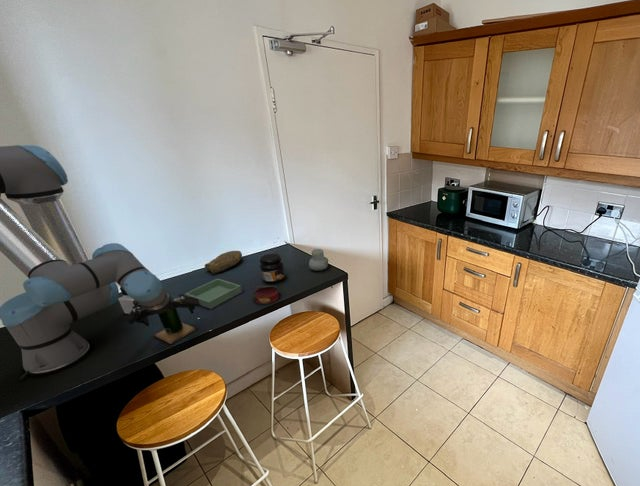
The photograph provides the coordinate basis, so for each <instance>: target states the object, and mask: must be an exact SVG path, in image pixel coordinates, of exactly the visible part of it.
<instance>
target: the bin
mask: <svg viewBox="0 0 640 486" xmlns="http://www.w3.org/2000/svg"><path fill="white" fill-rule="evenodd" d="M241 293H243V289H242V285H240V284H237V283H234V282H230V281H227V280H225V279H221V278H215V279H213V280H211V281H209V282H207V283H205V284H203V285H200V286H198V287H196V288H194V289H192V290H190V291H188V292H185V293H184V296H188V297H193V298H198V300H199V303H200V305H199V306H201V307H204V308H206V309H210V310H212V309H214V308H215V307H217V306H219V305H221V304H223V303H225V302H227V301H228V300H230V299H232V298H234V297H235V296H237V295H239V294H241Z"/></svg>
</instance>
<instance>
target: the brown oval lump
mask: <svg viewBox="0 0 640 486" xmlns="http://www.w3.org/2000/svg"><path fill="white" fill-rule="evenodd" d="M242 258H243V253H242V251H240V250H229V251H226V252H224V253H220V254H219V255H218V256H216V258H214V259H212V260H210V261H209V262H207V263H205V264H204V268H205V269H206V271H209V272H211V273H212V275H214V274H218V273H220V272H224V270H226V269H229V268H232V267H233V266H235V265H237V263H240V261H241V259H242Z"/></svg>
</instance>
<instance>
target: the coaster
mask: <svg viewBox="0 0 640 486" xmlns="http://www.w3.org/2000/svg"><path fill="white" fill-rule="evenodd" d="M182 325H183V330H182V331H181V332H180V333H178V334H176V335H168V334H166V332H165V329H163V330H161V331H160V332H157V333H156V334H154V336H155V338H158V339H160V340H161V341H164V342H166V343H167V344H173V343H175V342H177V341H178V340H180V339H182V338H184V337H185V336H187V335H189V334H191V333H193V332H195V331H196V328H195V327H194V326H191V325H190V324H187V323H185V322H182Z"/></svg>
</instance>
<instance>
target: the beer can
mask: <svg viewBox="0 0 640 486" xmlns="http://www.w3.org/2000/svg"><path fill="white" fill-rule="evenodd" d="M172 307H173V306H172ZM157 315H158V318H159V320H160V322H161V324H162V327H163V330H165V332H166V334H168V335H176V334H178V333H180V332H181V331H182V330H183V325H182V323H183V322H182V320H181V318H180V315H179V312H178V308H176V309H169V310H167V311H165V312H163V313H160V314H157Z"/></svg>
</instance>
